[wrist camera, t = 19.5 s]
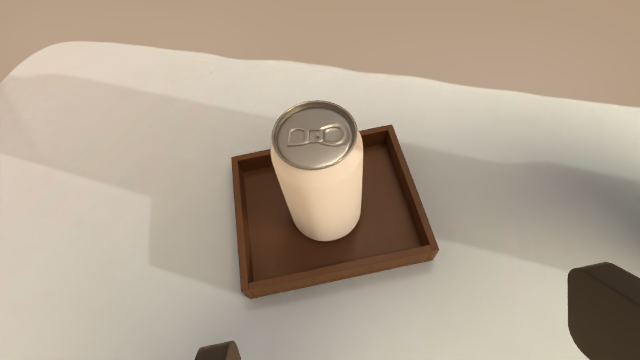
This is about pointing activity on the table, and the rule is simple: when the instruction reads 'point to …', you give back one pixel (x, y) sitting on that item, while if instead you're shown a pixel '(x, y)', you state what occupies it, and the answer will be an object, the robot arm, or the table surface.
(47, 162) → the table surface
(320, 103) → the can
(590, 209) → the table surface
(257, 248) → the tray
